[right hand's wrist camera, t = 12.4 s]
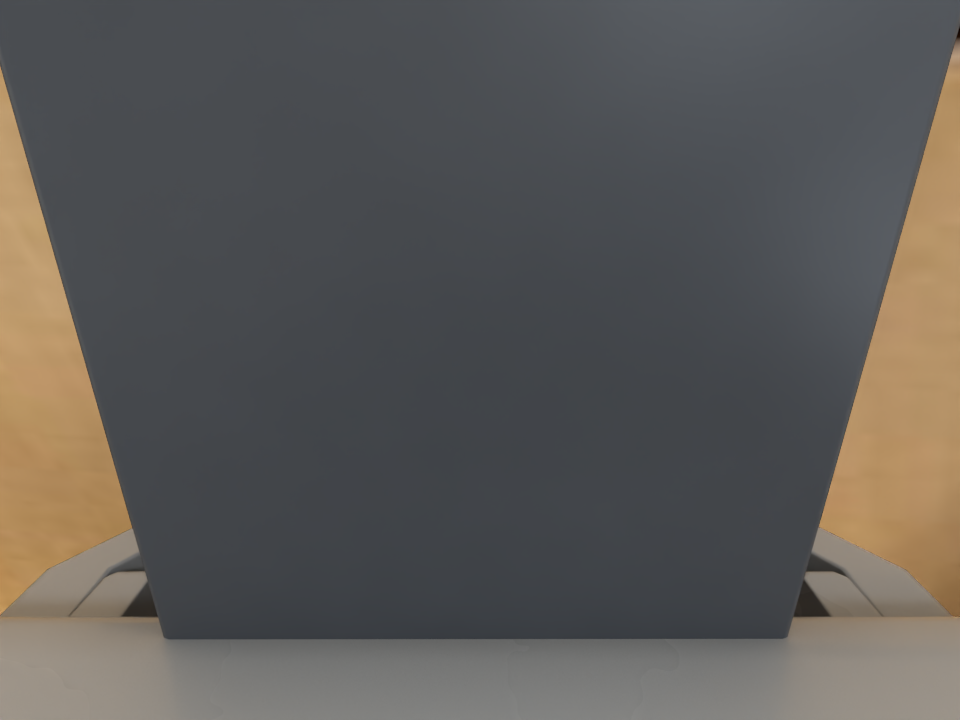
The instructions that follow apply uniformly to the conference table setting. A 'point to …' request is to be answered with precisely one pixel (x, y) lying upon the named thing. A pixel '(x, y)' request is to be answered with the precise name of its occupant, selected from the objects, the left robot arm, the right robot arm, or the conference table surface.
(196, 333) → the bar
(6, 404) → the conference table surface
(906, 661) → the right robot arm
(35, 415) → the conference table surface
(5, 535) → the conference table surface
